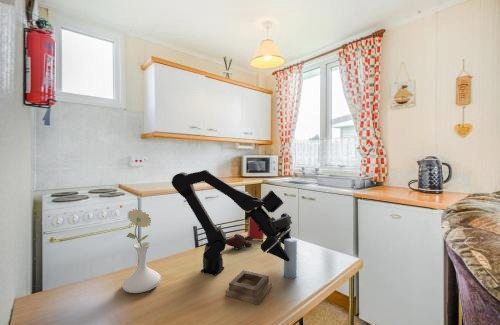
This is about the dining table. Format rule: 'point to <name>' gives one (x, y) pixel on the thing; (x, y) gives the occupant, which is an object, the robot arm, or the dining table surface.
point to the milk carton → (254, 230)
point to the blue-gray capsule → (291, 251)
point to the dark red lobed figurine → (239, 241)
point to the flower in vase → (140, 259)
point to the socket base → (249, 287)
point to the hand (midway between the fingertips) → (292, 255)
